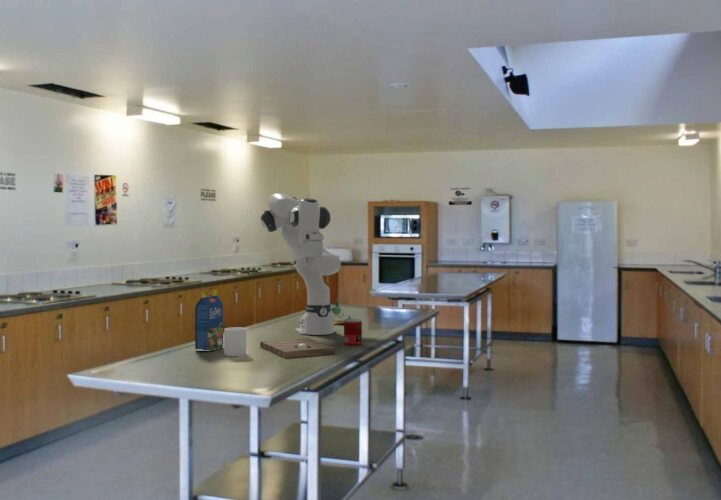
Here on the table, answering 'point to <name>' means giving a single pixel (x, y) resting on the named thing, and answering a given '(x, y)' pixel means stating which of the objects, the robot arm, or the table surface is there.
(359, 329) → the canned food
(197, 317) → the blue food package
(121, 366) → the table surface
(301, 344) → the ball
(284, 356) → the board
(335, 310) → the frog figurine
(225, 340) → the mug
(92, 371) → the table surface
